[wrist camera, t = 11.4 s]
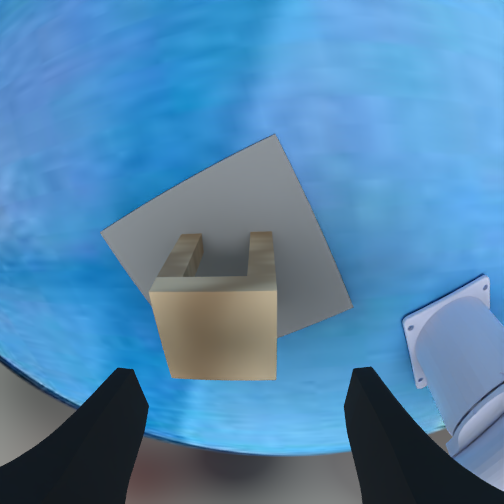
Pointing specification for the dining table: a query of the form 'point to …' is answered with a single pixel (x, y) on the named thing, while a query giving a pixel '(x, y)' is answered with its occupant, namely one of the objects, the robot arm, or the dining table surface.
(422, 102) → the dining table surface
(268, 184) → the slate mat
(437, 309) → the robot arm
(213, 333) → the wooden u-frame
